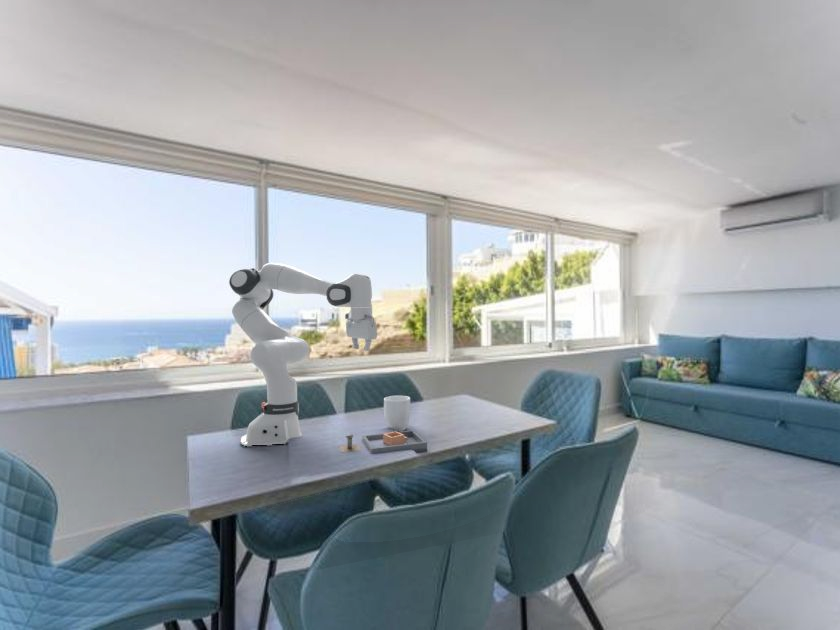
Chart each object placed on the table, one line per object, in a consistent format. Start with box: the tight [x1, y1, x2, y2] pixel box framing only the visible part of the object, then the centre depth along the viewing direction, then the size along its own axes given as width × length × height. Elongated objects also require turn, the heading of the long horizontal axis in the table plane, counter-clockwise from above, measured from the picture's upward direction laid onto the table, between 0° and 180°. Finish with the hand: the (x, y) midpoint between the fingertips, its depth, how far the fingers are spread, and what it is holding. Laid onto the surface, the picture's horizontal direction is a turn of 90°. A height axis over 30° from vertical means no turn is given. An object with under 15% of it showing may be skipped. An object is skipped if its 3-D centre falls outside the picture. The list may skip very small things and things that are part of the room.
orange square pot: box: [338, 433, 362, 453], centre depth 150 cm, size 7×7×6 cm
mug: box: [383, 395, 411, 432], centre depth 179 cm, size 15×11×13 cm
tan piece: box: [382, 431, 407, 446], centre depth 156 cm, size 8×6×4 cm
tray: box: [361, 429, 428, 454], centre depth 155 cm, size 20×16×3 cm
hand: (361, 349), depth 169 cm, fingers open, 8 cm apart
